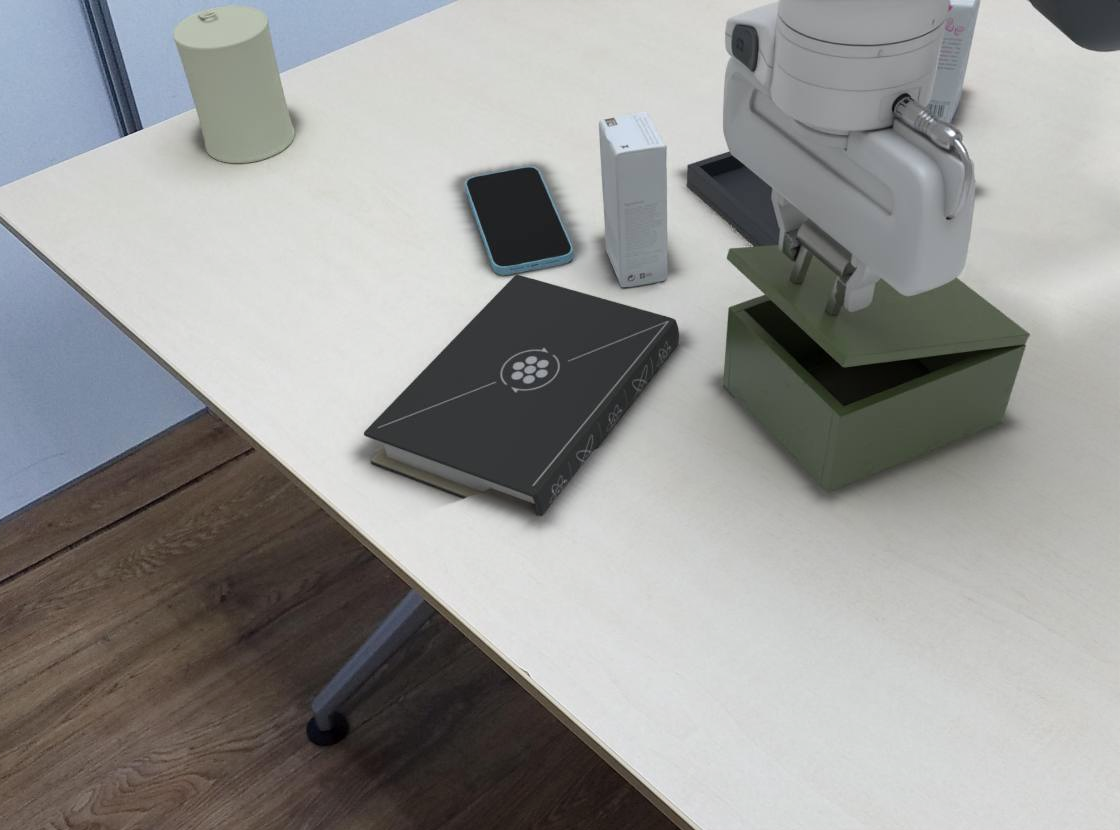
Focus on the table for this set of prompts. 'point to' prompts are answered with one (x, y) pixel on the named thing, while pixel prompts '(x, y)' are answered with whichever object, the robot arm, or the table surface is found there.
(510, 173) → the smartphone
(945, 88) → the supplement box
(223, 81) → the can
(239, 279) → the table surface
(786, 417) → the green box base
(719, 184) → the tray
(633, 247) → the cosmetic box
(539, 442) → the book
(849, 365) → the lid
